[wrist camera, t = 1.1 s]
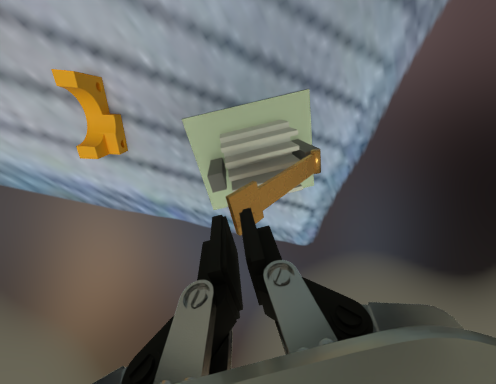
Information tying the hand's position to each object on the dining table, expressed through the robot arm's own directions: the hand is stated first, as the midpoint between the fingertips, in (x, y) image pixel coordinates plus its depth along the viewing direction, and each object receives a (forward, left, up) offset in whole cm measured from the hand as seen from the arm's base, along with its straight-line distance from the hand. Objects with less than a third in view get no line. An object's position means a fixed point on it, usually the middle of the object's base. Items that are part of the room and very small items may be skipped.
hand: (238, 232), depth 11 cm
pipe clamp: (+20, -9, -30) cm, 37 cm away
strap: (-6, +4, -14) cm, 15 cm away
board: (-5, +4, -29) cm, 30 cm away
